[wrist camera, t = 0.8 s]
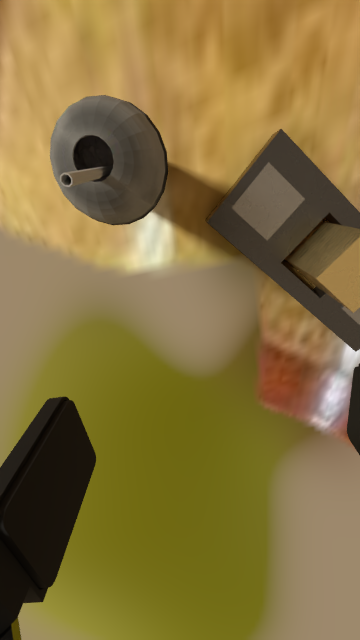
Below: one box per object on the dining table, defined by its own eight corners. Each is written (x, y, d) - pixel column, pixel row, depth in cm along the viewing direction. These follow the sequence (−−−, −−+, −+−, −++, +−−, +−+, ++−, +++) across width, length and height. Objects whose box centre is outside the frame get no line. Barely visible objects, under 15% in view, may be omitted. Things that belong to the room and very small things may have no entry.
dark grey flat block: (273, 134, 26) (281, 128, 24) (415, 284, 32) (433, 291, 30) (205, 220, 30) (207, 222, 27) (345, 341, 35) (356, 352, 33)
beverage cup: (166, 126, 26) (115, -30, 8) (182, 206, 29) (172, 223, 11) (95, 146, 27) (-95, 45, 9) (118, 221, 30) (10, 262, 12)
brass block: (317, 220, 29) (366, 230, 21) (346, 250, 31) (404, 269, 22) (282, 256, 31) (316, 278, 23) (311, 283, 32) (353, 312, 24)
